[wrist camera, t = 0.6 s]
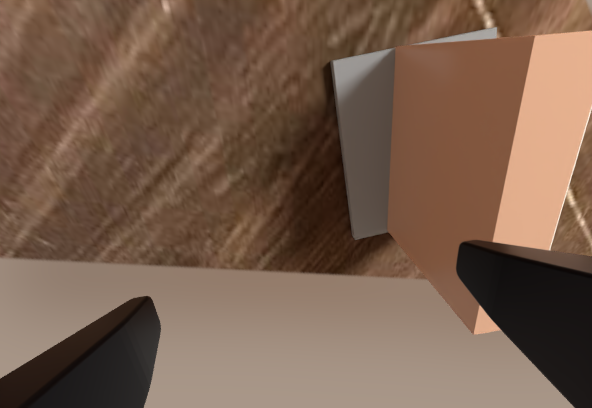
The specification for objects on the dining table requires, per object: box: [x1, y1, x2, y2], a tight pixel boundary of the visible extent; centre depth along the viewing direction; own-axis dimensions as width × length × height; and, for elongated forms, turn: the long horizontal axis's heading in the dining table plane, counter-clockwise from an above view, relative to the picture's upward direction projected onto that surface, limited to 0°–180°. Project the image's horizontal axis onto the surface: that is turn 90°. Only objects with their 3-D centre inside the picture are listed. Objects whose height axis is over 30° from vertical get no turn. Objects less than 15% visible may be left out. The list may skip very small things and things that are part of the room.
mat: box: [330, 27, 497, 240], centre depth 20 cm, size 9×11×1 cm
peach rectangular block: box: [387, 31, 592, 335], centre depth 15 cm, size 3×11×9 cm, turn 4°
